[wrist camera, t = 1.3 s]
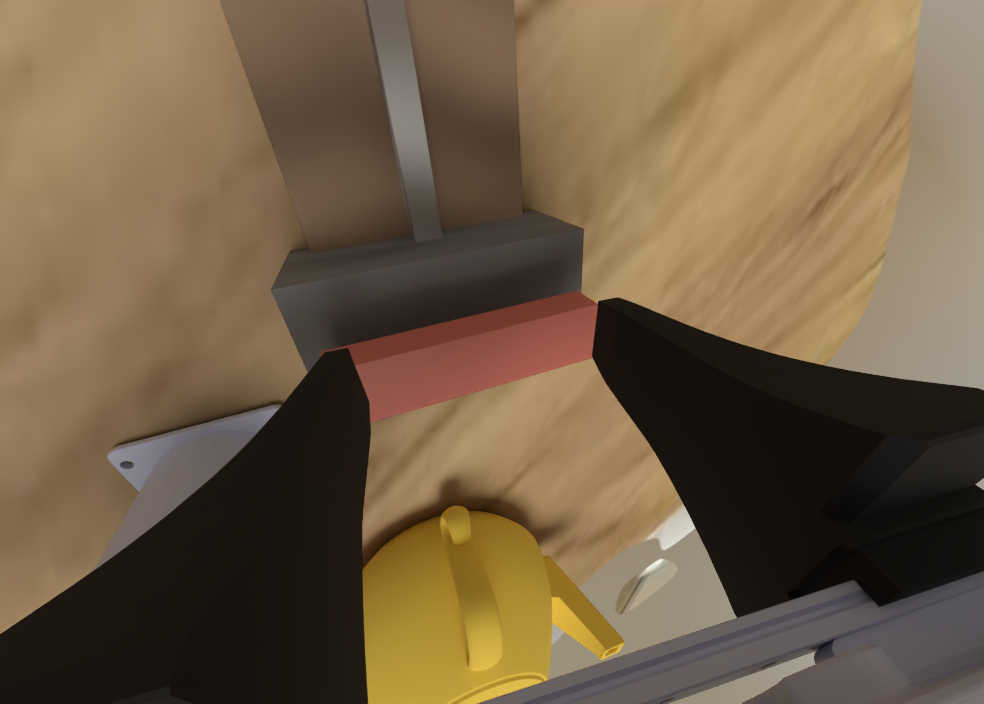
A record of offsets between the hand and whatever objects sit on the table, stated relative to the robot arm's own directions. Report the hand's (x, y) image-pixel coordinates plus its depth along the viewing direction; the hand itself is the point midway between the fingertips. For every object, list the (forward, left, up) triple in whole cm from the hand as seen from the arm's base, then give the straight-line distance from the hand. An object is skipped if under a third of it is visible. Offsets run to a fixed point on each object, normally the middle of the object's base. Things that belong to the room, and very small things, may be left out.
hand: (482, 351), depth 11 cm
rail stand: (+6, 0, -10) cm, 11 cm away
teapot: (-26, +1, -10) cm, 28 cm away
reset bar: (-2, 0, -3) cm, 4 cm away
